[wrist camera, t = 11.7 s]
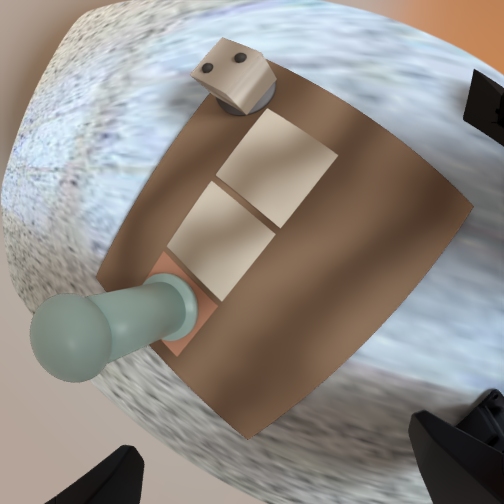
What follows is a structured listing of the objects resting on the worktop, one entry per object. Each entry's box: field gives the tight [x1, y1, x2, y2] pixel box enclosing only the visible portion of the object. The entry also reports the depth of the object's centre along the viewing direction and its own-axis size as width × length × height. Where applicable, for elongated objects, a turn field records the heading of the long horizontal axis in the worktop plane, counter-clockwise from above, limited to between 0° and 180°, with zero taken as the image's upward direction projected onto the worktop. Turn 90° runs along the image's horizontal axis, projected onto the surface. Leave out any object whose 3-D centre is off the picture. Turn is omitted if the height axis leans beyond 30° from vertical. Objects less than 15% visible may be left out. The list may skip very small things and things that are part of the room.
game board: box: [96, 37, 474, 440], centre depth 18 cm, size 20×24×5 cm
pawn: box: [30, 273, 198, 382], centre depth 16 cm, size 5×5×12 cm
